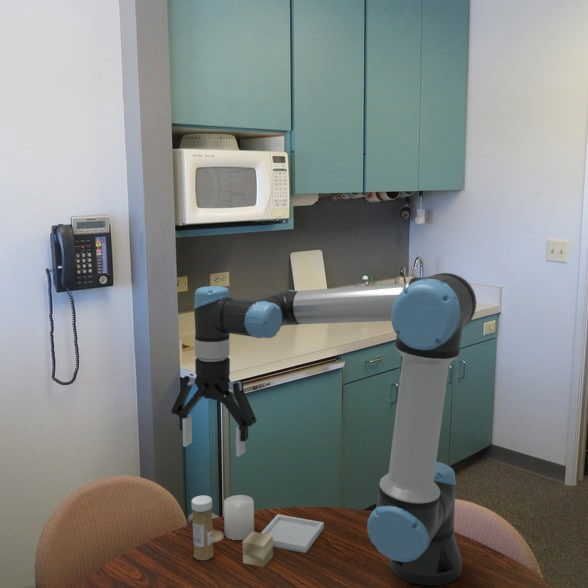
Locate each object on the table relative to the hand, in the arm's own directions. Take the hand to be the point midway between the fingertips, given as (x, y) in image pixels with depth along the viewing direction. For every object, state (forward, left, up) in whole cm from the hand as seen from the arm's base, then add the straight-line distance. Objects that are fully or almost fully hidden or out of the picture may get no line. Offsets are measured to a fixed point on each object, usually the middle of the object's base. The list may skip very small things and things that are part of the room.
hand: (213, 449), depth 155 cm
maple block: (-11, +2, -23) cm, 26 cm away
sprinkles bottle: (+1, +5, -23) cm, 24 cm away
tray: (-14, -10, -23) cm, 29 cm away
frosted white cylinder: (-2, -7, -23) cm, 24 cm away
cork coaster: (+3, -3, -24) cm, 24 cm away
